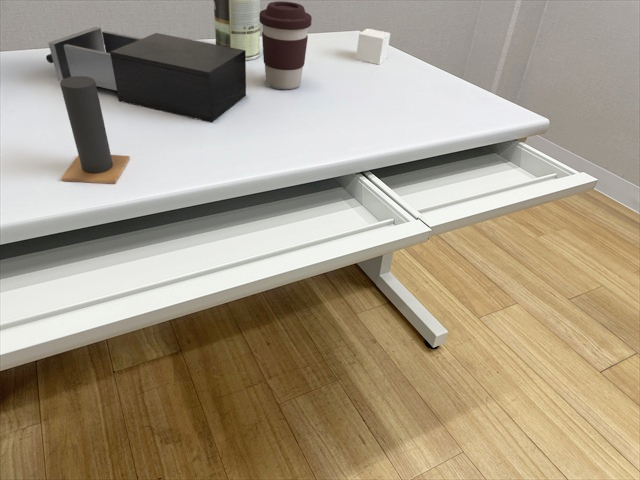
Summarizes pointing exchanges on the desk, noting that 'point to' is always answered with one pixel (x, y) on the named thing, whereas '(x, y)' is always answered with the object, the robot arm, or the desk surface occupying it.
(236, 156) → the desk surface
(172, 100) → the cabinet
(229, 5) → the coffee can
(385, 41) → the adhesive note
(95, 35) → the drawer
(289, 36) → the coffee cup
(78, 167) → the pad
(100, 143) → the canister
